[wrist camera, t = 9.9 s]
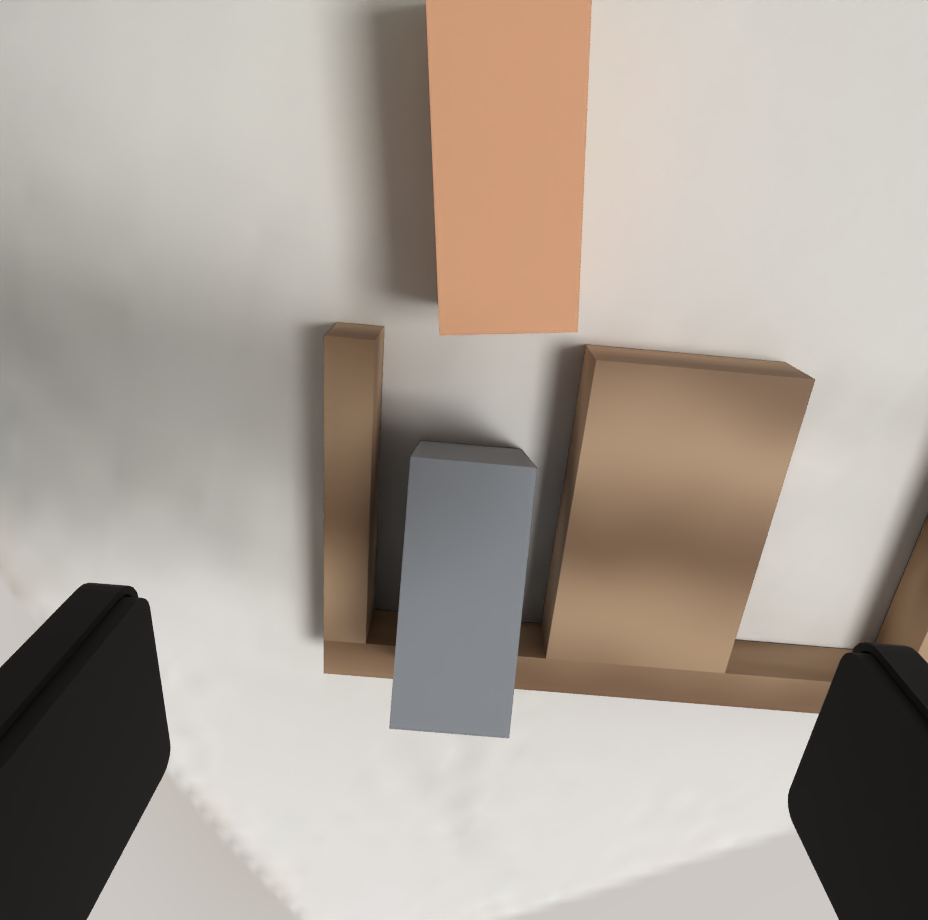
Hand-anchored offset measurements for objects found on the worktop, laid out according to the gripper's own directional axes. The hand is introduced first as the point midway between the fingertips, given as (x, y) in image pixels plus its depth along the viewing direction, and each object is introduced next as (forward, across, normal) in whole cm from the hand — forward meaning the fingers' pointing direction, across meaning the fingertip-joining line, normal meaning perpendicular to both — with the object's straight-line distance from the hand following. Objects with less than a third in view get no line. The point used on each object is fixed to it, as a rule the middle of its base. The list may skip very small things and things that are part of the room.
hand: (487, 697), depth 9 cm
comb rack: (+14, -6, +4) cm, 16 cm away
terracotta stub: (+14, 0, -7) cm, 16 cm away
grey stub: (+13, 0, +6) cm, 14 cm away
